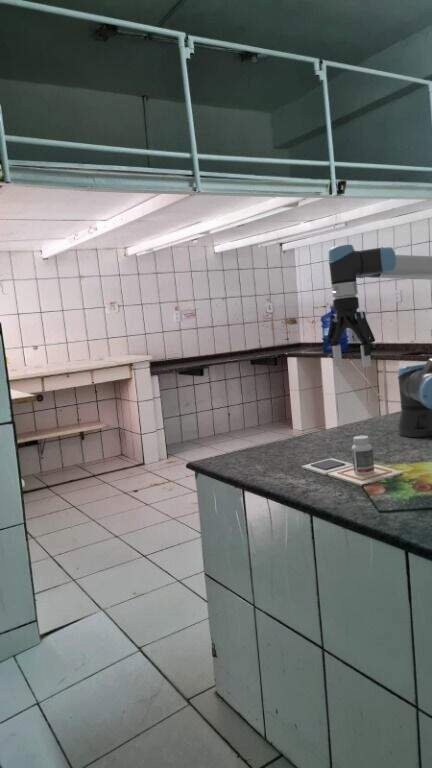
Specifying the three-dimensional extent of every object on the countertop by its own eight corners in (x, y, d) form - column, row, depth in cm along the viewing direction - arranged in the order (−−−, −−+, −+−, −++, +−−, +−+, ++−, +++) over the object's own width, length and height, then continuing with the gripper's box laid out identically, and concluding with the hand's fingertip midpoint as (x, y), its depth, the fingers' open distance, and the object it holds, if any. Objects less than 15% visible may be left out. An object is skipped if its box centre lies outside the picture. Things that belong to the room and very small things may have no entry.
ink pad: (331, 460, 170) (331, 456, 170) (355, 466, 160) (355, 463, 160) (301, 468, 166) (301, 464, 166) (324, 475, 156) (323, 471, 156)
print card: (367, 464, 161) (367, 461, 161) (403, 473, 148) (403, 470, 148) (327, 475, 155) (327, 472, 155) (361, 486, 143) (361, 483, 142)
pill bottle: (378, 471, 151) (375, 436, 150) (365, 476, 148) (361, 440, 147) (363, 468, 155) (360, 433, 154) (349, 473, 153) (346, 438, 151)
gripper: (311, 302, 182) (318, 367, 184) (362, 294, 159) (369, 369, 162) (330, 299, 185) (336, 363, 187) (383, 292, 162) (389, 365, 165)
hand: (352, 366), depth 174 cm, fingers open, 13 cm apart
